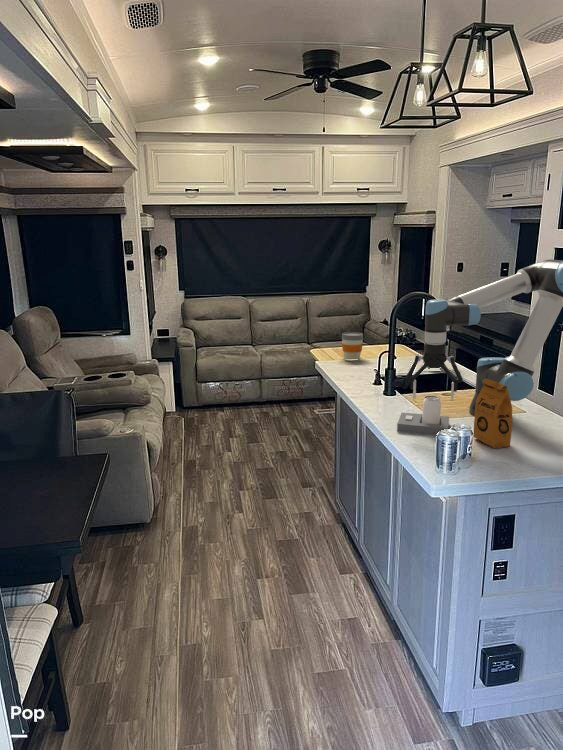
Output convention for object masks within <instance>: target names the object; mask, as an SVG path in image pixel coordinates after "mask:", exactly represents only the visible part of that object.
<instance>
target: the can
mask: <svg viewBox="0 0 563 750" xmlns="http://www.w3.org/2000/svg"><path fill="white" fill-rule="evenodd" d="M441 409H442V401H441V397H439V396H436V395H426V396H424V399H423V403H422V413H421V414H422V423H425V424H436V425H440V416H441Z"/></svg>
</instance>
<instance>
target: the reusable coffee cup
mask: <svg viewBox="0 0 563 750" xmlns="http://www.w3.org/2000/svg"><path fill="white" fill-rule="evenodd" d="M341 334H342V335H341V341H342V342H341V347H342V352H343V359H344V360H345V359H360V358H361V353H362V351H363V342H364V341H363V340H364V333H362V332H357V331H349V332H347V331H346V332H342V333H341ZM360 360H361V359H360Z"/></svg>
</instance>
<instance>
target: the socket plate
mask: <svg viewBox="0 0 563 750" xmlns="http://www.w3.org/2000/svg"><path fill="white" fill-rule="evenodd" d="M397 421H398V422H397V423H396V432H399V431H400V432H399V433H409V432H410V433H411V434H420V435H421V434H422V435H429V436H430V435H431V436H437V435H436V434H437V433H438V432H439V431H441V430H444V429H448V430H449V425H450V416H446V415H440V425H436V424H425V423H422V413H411V412H401V413H400V415H399V418H398V420H397ZM410 433H409V434H410Z"/></svg>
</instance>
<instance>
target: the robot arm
mask: <svg viewBox="0 0 563 750" xmlns="http://www.w3.org/2000/svg"><path fill="white" fill-rule="evenodd" d="M535 291H537V293H538V296H539V297H538V299H537V301H536V303H535V305H534V307H533V309H532V312H531V313H530V315H529V317H528V319H527V321H526V322H525V326H524V327H523V329H522V331H521V334H520V335H519V337H518V339H517V341H516V343H515V346H514V348H513V349H512V351H511V354H510V355H509V356H507V357H497V356H496V357H495V356H494V357H481V358H479V359H478V361H477V366H476V379H475V392H474V394H473V398H472V400H471V402H470V405H469V409H468V412H469V414H471V415H473V416H474V417H475V404H476V399H477V397H478V395H479V393H480V391H481V389H482V387H483V385H484V383H483V380H484V379H485V378H486V379H489V380H492V381H495V382H499V383H500V384H503V385H505V386H507V389H508V393H509V397H510V400H511V402H519V401H522V400H524V399H526V398H528V396H530V395H531V393H532V391H533V390H534V386H535V385H534V383H535V382H534V379H533V376H534V374H535V369H534V368H535V367H534V363H535V361H536V359H537V358H538V356H539V354H540V352H541V350H542V347H544V344H545V342H546V340H547V338H548V337H549V334H550V332H551V330H552V329H553V326H554V325H555V323H556V321H557V318H558V316H559V315H560V312H561V310H562V308H563V260H562V259H561V260H560V259H559V260H558V259H545V260H541V261H539V262H536V263H532V264H530V265H529V266H526V267H523V268H521V269H518V270H517V272H516V274H512V275H510V276H507V277H504V278H502V279H499V280H497V281H494V282H492V283H489V284H487V285H483V286H481V287H478V288H476V289H473V290H470V291H468V292H466V293H465V292H464V293H463V294H460V295H458V296H454V297H452V298H449V299H448V298H445V299H444V298H442V299H430V300H429V299H428V300H427V301H426V304H425V312H424V315H425V316H424V318H425V321H424V325H425V327H424V342H425V343H424V348H423V349H424V350H423V355H424V356H423V355H419V354H416V355H415V357H414V362H413V363H412V365H411V367H410V368H409V370H408V372H407V374H406V376H405V380H408V381H409V383H410V387H409V388H410V390H413V391H412V399H413V400H415V399H416V397H417V396H416V395H417V390H416V389H417V380H416V379H417V378H418V377H419V376H420V375H421V374H422V373H423V372H424V371H423V370H424V369H426V368H427V367H429V368H440V367H441V370H442V371H443V372H444V373H445V374H446V375H447V376H448V377H449V378H450V380H451V381H452V382H451V394H450V401H451V402H454V393H457V391H458V384H459V383H463V380H464V379H463V377H462V375H461V372H460V370H459V368H458V366H457V364H456V362H455V356H454V355H451V356H446V353H447V352H446V349H447V348H446V347H447V344H446V342H447V328H448V327H452V326H453V327H455V326H471V325H472V326H473V325H478V323H479V322H480V320H481V314H482V312H481V309H482V308H485V307H488V306H490V305H492V304H496V303H498V302H501V301H504V300H506V299H507V300H508V298H512V297H514V296H517V295H520V294H522V293H524V294H529V293H532V292H535ZM421 360H422V362H423V361H424V362H425V363H424V365H423V364H422V366H420V368H418V370H417V371H416V372H415V373H414V374H413V371H415V368H416V366H417V365H418V362H421ZM446 361H448V363H450V365H451V367H452V369H453V371H454V374H455V375H456V376H455V375H454V374H453V373H452V372H451V370H450V369H449V368H448V366H447V365H446V364H445V363H446ZM412 374H413V375H412ZM411 375H412V376H411Z"/></svg>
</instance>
